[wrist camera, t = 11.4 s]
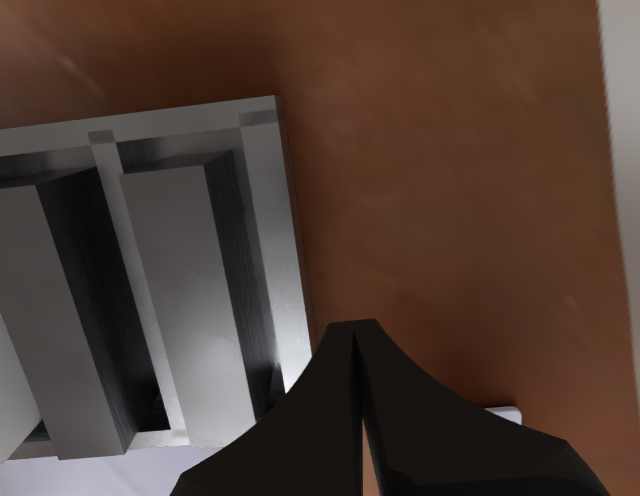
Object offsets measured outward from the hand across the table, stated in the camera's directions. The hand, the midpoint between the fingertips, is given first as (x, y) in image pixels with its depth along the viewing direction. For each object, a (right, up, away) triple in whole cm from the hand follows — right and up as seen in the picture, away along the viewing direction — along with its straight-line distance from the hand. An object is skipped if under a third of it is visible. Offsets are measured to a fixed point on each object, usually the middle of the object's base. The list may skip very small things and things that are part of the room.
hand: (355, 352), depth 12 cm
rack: (-12, +1, +11) cm, 16 cm away
